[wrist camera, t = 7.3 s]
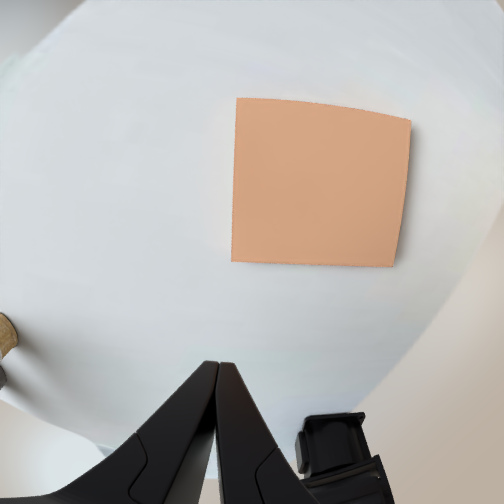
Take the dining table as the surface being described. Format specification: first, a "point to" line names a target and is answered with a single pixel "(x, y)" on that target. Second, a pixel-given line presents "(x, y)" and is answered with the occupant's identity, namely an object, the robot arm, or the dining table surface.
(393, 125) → the tile
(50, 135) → the dining table surface
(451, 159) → the dining table surface
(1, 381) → the candle holder
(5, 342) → the sprinkles bottle
